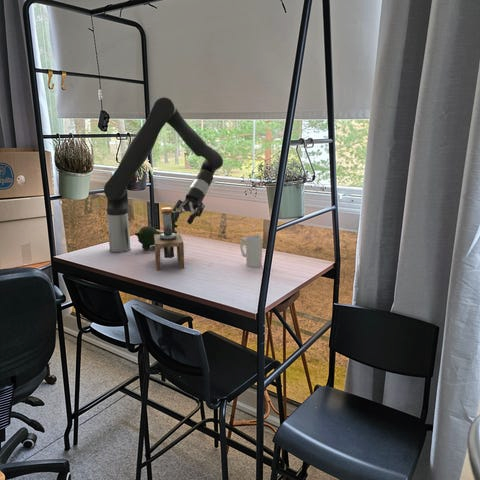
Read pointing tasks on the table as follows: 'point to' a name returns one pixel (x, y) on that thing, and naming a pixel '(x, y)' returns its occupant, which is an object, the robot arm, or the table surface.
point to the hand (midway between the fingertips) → (181, 222)
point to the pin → (167, 232)
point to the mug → (252, 250)
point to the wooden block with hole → (169, 243)
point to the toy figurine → (151, 234)
